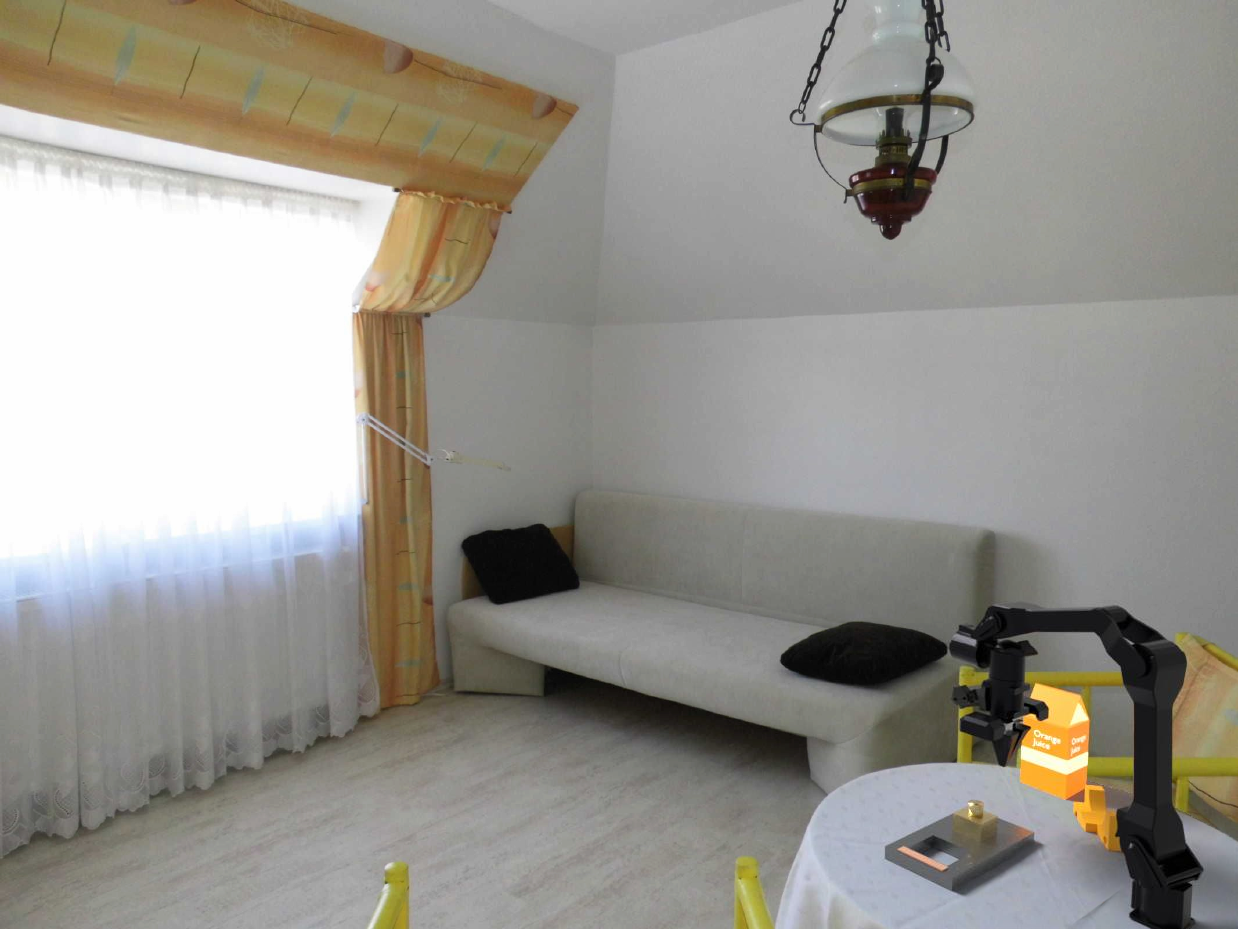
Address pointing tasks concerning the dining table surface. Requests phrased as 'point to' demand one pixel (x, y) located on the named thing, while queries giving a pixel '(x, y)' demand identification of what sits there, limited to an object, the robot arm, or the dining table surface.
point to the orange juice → (1056, 744)
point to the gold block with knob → (975, 821)
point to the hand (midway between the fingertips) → (1002, 766)
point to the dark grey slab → (957, 851)
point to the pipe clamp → (1097, 816)
